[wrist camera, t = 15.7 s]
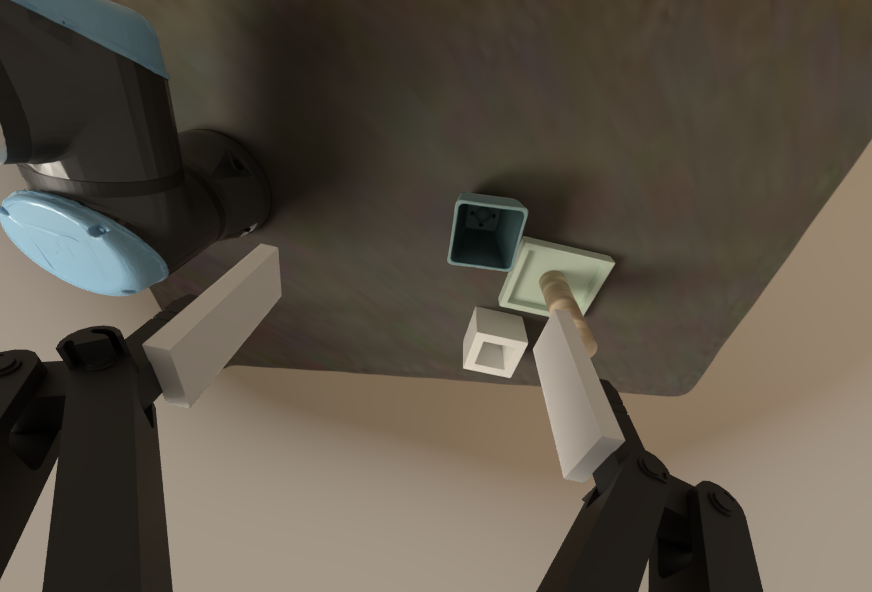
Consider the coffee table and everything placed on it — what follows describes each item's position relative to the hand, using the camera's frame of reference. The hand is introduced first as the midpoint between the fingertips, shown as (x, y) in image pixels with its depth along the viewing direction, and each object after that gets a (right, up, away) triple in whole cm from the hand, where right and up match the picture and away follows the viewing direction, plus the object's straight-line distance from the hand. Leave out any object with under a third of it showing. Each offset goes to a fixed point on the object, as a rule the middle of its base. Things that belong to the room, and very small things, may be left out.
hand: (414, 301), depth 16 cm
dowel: (+20, +3, +38) cm, 43 cm away
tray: (+20, +3, +38) cm, 43 cm away
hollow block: (+11, -6, +45) cm, 47 cm away
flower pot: (+8, +13, +33) cm, 36 cm away
